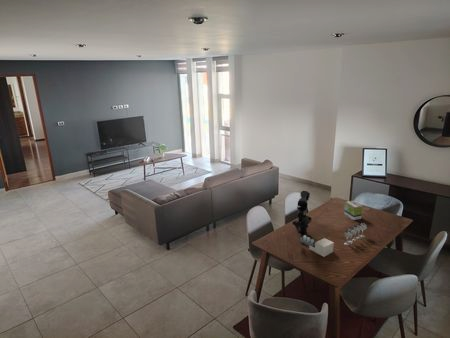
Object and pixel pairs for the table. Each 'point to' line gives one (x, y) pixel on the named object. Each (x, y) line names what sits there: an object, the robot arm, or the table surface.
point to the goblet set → (354, 231)
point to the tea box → (353, 210)
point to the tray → (307, 241)
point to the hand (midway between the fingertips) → (301, 229)
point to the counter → (323, 247)
